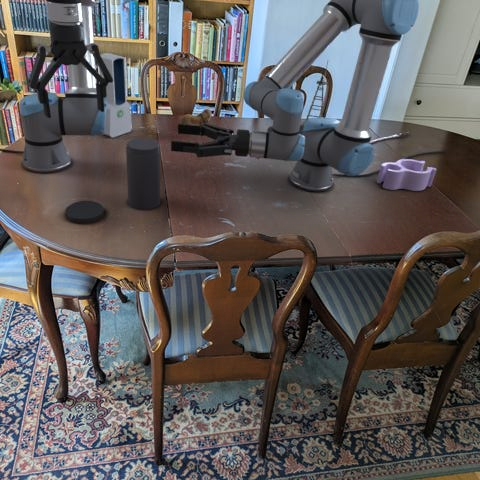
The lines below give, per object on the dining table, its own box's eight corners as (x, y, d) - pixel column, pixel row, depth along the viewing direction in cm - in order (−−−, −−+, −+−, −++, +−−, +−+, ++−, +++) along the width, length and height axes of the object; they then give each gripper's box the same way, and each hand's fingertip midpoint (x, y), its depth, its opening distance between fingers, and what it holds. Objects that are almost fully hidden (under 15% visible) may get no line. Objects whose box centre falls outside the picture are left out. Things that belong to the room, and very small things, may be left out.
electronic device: (110, 138, 183) (105, 58, 167) (97, 133, 186) (90, 54, 170) (132, 130, 192) (130, 54, 176) (119, 126, 195) (115, 50, 179)
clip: (389, 193, 165) (394, 175, 161) (370, 177, 175) (375, 160, 171) (435, 189, 171) (441, 172, 167) (414, 174, 181) (420, 158, 177)
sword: (406, 132, 223) (406, 130, 222) (411, 134, 221) (412, 132, 220) (362, 144, 207) (363, 141, 206) (368, 146, 205) (368, 143, 204)
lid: (98, 225, 130) (98, 220, 129) (60, 222, 130) (59, 216, 129) (108, 207, 139) (108, 202, 138) (72, 204, 139) (72, 199, 138)
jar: (150, 212, 139) (150, 152, 128) (122, 205, 141) (119, 145, 131) (165, 199, 147) (166, 141, 136) (138, 192, 149) (136, 135, 138)
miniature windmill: (321, 130, 214) (334, 62, 198) (303, 128, 215) (314, 60, 199) (322, 124, 222) (335, 58, 205) (305, 122, 223) (316, 56, 206)
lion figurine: (208, 127, 204) (210, 107, 199) (212, 131, 200) (213, 111, 195) (176, 128, 199) (176, 107, 195) (179, 132, 195) (179, 111, 190)
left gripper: (12, 25, 98) (27, 123, 110) (123, 24, 111) (127, 112, 123) (3, 19, 103) (19, 113, 114) (111, 19, 116) (115, 103, 128)
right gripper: (247, 174, 124) (168, 167, 124) (248, 140, 145) (180, 134, 145) (250, 147, 120) (168, 140, 120) (250, 116, 141) (180, 110, 140)
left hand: (75, 113), depth 119 cm, fingers open, 13 cm apart
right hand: (174, 136), depth 132 cm, fingers open, 13 cm apart
